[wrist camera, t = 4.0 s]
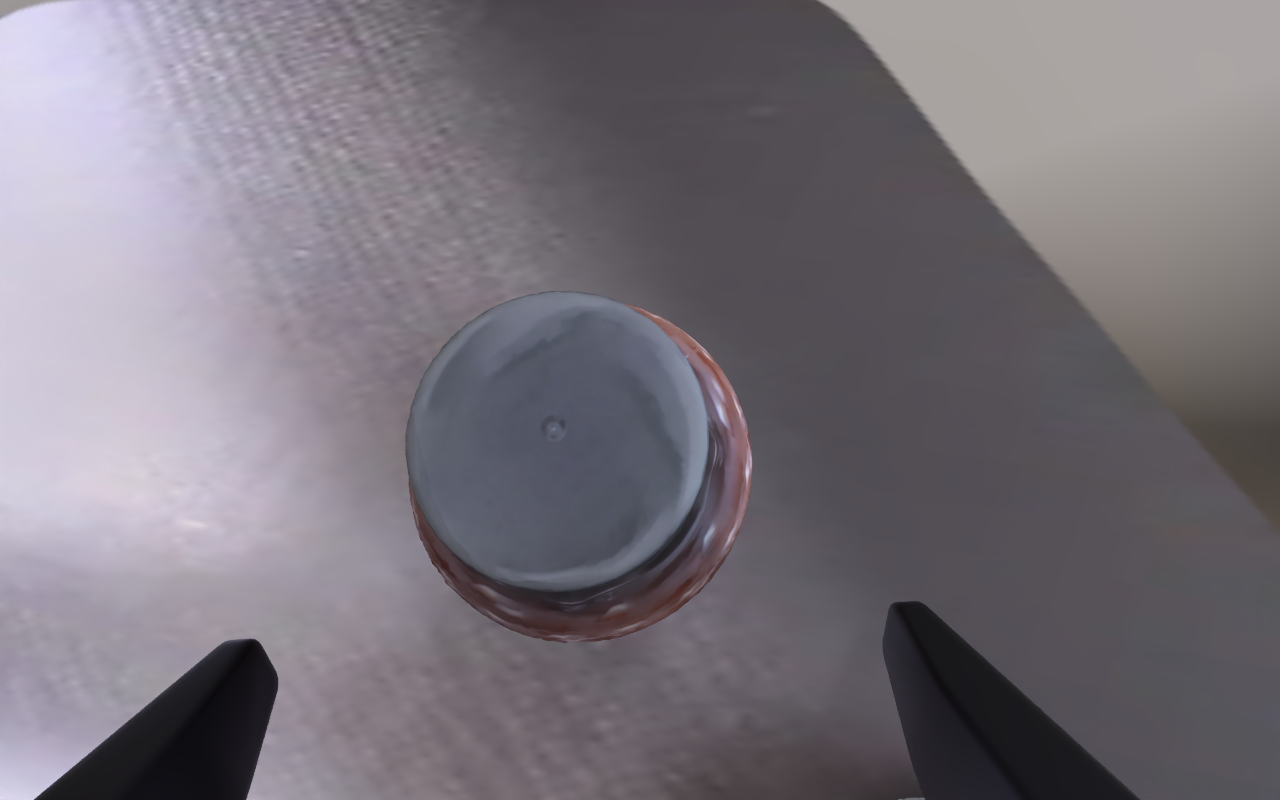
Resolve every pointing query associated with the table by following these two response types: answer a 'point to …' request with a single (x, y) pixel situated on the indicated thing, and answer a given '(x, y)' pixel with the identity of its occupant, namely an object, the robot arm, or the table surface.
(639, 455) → the supplement bottle
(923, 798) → the pan
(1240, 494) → the table surface
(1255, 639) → the table surface
